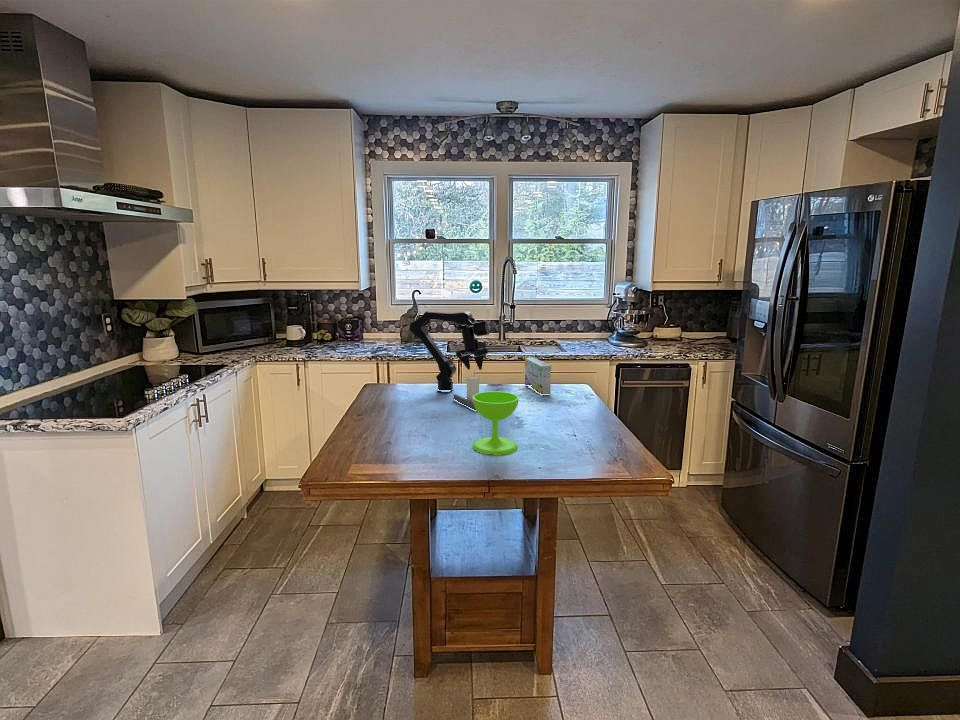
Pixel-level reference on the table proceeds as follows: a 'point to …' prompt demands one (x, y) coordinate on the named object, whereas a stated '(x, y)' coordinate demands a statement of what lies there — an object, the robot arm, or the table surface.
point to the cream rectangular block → (472, 387)
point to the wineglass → (495, 420)
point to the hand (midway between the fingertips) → (474, 369)
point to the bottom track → (464, 401)
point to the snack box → (538, 375)
